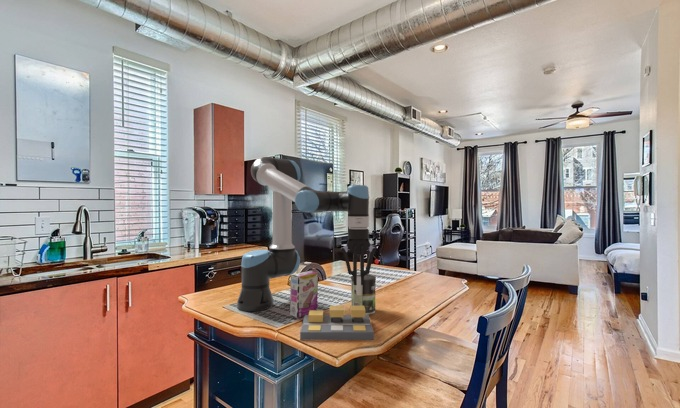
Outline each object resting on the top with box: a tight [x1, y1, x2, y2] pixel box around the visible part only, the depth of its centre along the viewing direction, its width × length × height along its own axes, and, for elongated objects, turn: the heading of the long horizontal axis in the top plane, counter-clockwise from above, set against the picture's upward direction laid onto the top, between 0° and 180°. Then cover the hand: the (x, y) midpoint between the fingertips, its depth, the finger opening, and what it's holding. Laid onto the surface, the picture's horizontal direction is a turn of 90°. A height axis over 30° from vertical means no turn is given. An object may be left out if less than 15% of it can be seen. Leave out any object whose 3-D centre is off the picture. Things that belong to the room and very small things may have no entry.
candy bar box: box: [289, 270, 319, 319], centre depth 127 cm, size 11×5×16 cm, turn 141°
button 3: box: [350, 305, 365, 322], centre depth 114 cm, size 5×5×5 cm
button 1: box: [308, 309, 324, 322], centre depth 114 cm, size 5×5×5 cm
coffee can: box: [350, 273, 377, 316], centre depth 131 cm, size 10×10×14 cm
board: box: [299, 314, 375, 341], centre depth 111 cm, size 24×16×3 cm, turn 91°
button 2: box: [329, 305, 345, 322], centre depth 114 cm, size 5×5×5 cm
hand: (358, 293), depth 114 cm, fingers closed
